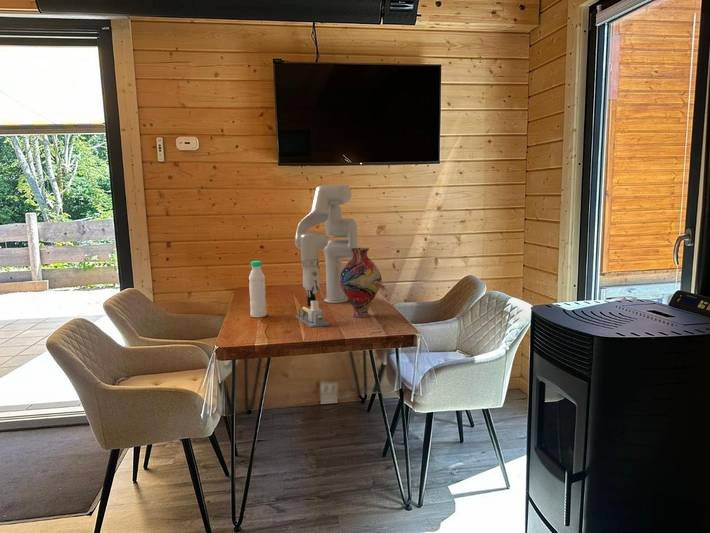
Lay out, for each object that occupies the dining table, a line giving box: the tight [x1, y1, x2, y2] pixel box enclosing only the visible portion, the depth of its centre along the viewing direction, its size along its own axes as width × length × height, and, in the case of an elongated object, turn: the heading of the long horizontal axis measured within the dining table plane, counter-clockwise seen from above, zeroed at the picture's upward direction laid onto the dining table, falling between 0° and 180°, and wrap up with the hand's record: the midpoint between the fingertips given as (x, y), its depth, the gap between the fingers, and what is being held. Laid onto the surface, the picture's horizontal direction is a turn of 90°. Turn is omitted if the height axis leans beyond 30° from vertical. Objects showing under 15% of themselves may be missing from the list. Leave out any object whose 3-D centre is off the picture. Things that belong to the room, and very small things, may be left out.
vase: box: [339, 247, 383, 318], centre depth 213 cm, size 19×19×30 cm
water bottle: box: [248, 260, 267, 318], centre depth 216 cm, size 7×7×25 cm
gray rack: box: [295, 306, 330, 328], centre depth 206 cm, size 20×8×5 cm, turn 25°
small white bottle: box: [308, 300, 323, 322], centre depth 202 cm, size 4×5×8 cm
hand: (311, 305), depth 205 cm, fingers closed
